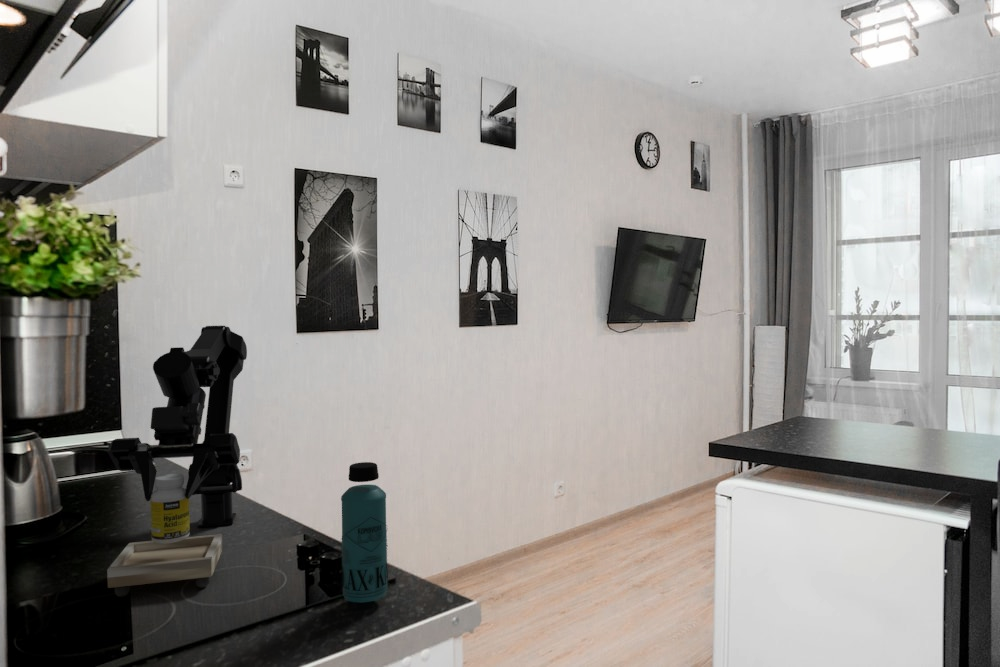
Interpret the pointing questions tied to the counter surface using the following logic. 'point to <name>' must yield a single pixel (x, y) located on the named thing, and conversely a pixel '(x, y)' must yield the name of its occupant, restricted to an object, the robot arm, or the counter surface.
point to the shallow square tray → (165, 562)
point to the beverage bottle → (364, 537)
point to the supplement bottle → (169, 510)
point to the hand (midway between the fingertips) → (167, 498)
